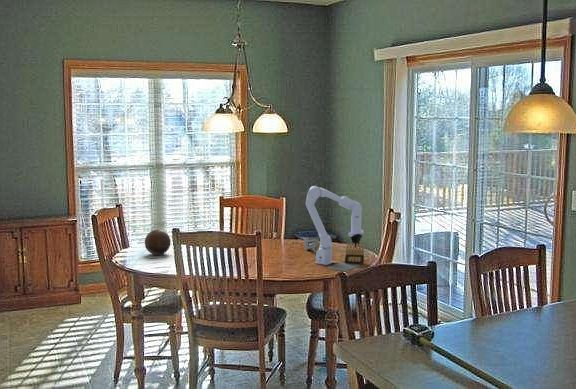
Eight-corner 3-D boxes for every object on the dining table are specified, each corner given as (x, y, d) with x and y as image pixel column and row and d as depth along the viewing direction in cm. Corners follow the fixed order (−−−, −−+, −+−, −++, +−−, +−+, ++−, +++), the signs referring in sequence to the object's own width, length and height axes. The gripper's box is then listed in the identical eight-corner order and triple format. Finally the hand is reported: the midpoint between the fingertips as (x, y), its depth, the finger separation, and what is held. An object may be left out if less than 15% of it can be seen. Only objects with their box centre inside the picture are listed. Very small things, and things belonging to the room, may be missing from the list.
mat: (345, 271, 354) (345, 270, 354) (326, 268, 361) (326, 267, 361) (360, 265, 368) (360, 265, 368) (342, 263, 375) (342, 262, 375)
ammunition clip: (363, 262, 375) (364, 242, 372) (363, 263, 373) (365, 243, 371) (344, 262, 374) (345, 241, 372) (344, 263, 372) (346, 242, 370)
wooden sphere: (175, 254, 395) (175, 229, 393) (158, 258, 383) (157, 232, 381) (157, 251, 403) (157, 226, 402) (139, 255, 391) (139, 230, 389)
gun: (310, 263, 413) (307, 240, 416) (324, 256, 390) (320, 231, 394) (305, 263, 412) (302, 240, 415) (319, 256, 389) (315, 231, 393)
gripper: (356, 226, 364) (355, 250, 366) (368, 222, 376) (368, 246, 378) (345, 224, 368) (344, 248, 370) (357, 221, 380) (357, 244, 382)
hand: (355, 247), depth 374 cm, fingers closed
